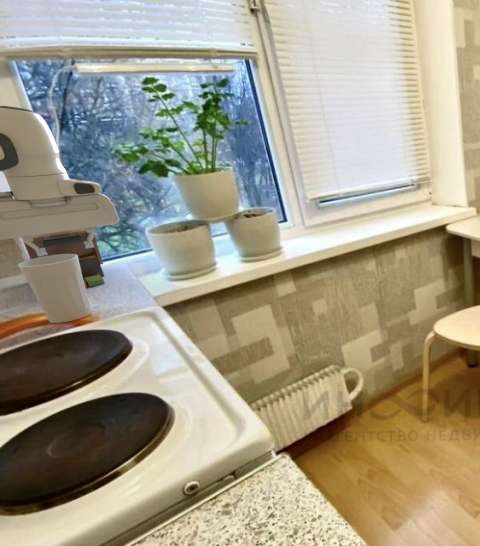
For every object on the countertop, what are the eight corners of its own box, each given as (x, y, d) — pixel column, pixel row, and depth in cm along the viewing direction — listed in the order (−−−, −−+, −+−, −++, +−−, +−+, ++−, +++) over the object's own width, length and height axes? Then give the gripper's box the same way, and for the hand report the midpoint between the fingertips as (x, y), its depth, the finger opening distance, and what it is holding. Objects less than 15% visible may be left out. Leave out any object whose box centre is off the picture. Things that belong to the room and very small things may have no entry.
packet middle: (66, 281, 101) (68, 285, 101) (69, 286, 98) (71, 290, 98) (82, 278, 103) (84, 282, 103) (85, 282, 100) (87, 287, 100)
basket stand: (42, 288, 99) (32, 265, 97) (38, 280, 105) (28, 257, 103) (104, 276, 107) (96, 254, 105) (97, 268, 113) (89, 247, 111)
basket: (32, 265, 97) (42, 285, 93) (16, 224, 92) (24, 244, 87) (96, 254, 105) (108, 272, 101) (84, 216, 100) (96, 234, 95)
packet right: (84, 277, 103) (85, 282, 103) (87, 282, 100) (89, 286, 100) (99, 274, 105) (100, 279, 105) (103, 279, 102) (104, 283, 102)
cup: (105, 311, 87) (85, 256, 83) (53, 327, 80) (29, 268, 76) (86, 305, 90) (66, 252, 86) (35, 320, 83) (10, 263, 79)
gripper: (-36, 196, 78) (-4, 266, 83) (109, 184, 93) (129, 243, 98) (-36, 193, 82) (-6, 260, 87) (103, 182, 97) (123, 239, 102)
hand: (67, 251), depth 93 cm, fingers closed on basket, 6 cm apart
